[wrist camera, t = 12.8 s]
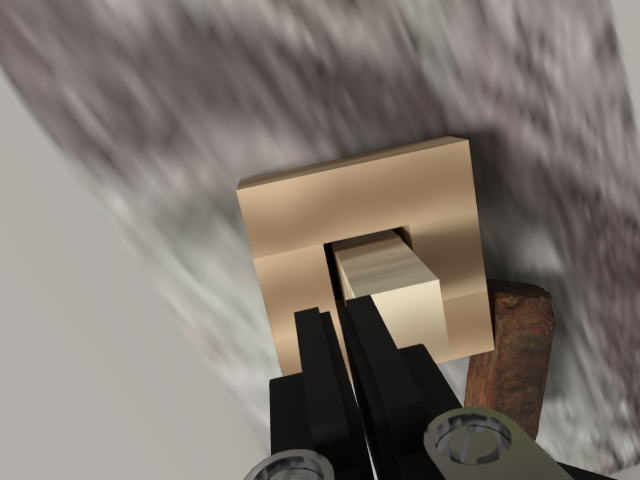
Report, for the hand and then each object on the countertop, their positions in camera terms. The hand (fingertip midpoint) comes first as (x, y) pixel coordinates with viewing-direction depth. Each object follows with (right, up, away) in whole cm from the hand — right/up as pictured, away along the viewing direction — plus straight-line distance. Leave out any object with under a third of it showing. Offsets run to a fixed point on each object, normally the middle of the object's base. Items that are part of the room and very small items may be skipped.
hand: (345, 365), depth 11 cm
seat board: (+3, +1, +26) cm, 26 cm away
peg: (+2, +2, +26) cm, 26 cm away
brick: (+13, -5, +29) cm, 32 cm away
